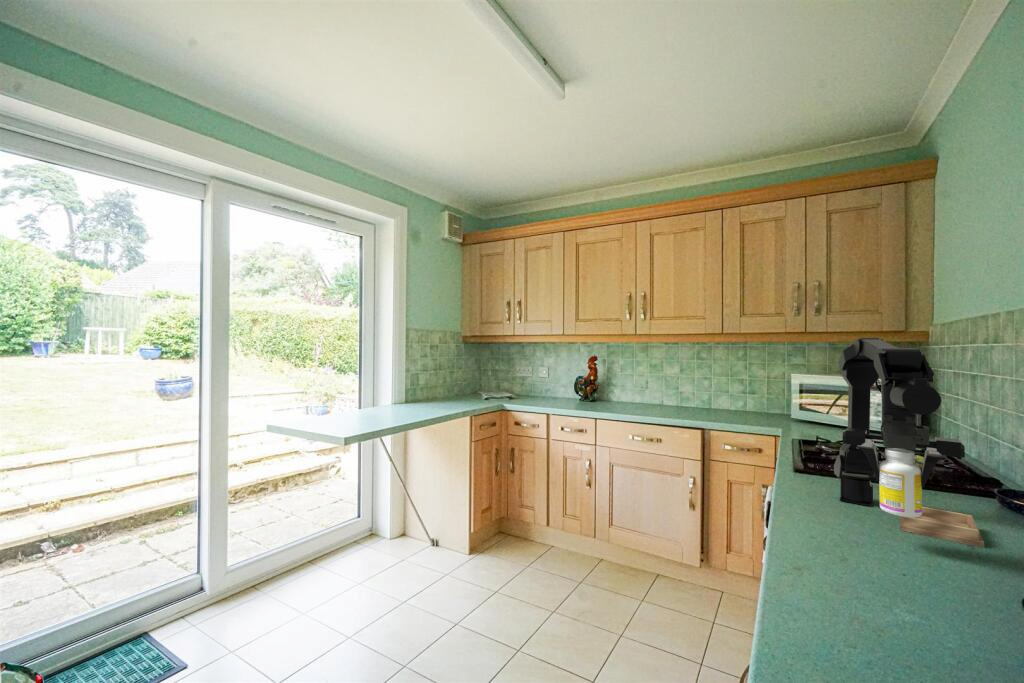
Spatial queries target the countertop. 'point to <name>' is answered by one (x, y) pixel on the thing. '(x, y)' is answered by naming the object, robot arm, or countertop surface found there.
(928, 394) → the robot arm
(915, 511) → the supplement bottle
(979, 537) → the tray
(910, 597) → the countertop surface
